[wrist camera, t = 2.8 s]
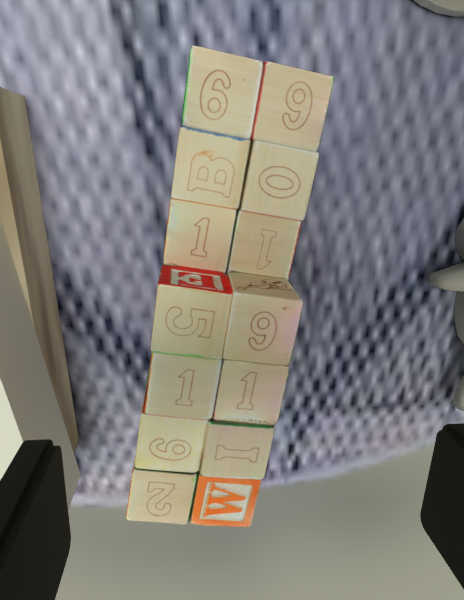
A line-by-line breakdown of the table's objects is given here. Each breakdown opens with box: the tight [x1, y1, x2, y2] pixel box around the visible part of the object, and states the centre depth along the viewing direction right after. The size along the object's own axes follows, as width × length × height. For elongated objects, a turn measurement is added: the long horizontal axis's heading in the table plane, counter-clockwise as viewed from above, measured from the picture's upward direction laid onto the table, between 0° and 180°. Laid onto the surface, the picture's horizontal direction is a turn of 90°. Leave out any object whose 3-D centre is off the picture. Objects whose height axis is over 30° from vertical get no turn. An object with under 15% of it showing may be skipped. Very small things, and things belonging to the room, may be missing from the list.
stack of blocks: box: [126, 46, 334, 527], centre depth 23 cm, size 21×6×12 cm, turn 170°
